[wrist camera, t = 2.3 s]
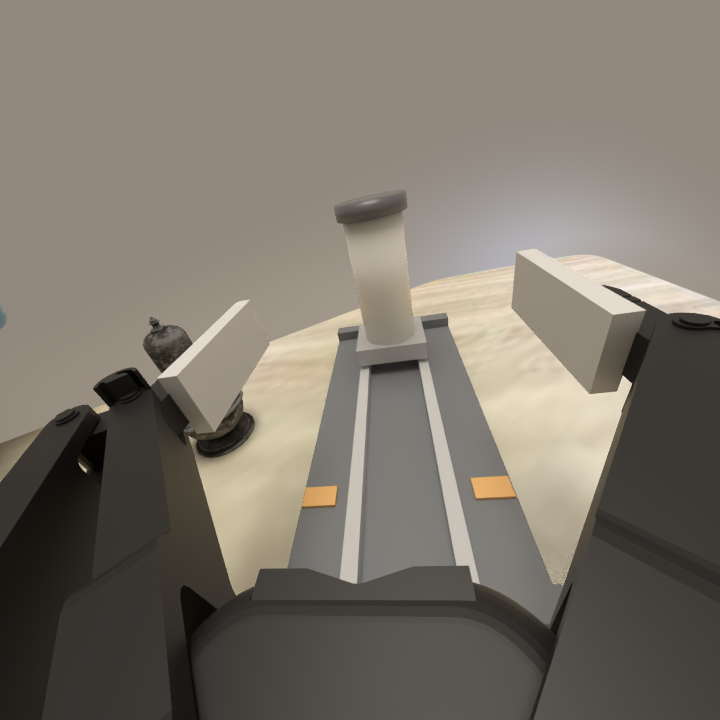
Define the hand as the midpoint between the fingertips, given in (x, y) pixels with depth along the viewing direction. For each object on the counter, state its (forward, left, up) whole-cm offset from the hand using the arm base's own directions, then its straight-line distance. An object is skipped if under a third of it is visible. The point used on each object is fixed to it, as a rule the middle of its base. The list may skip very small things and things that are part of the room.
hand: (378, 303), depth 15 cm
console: (0, +3, -12) cm, 12 cm away
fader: (0, +10, -9) cm, 13 cm away
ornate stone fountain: (-16, +4, -12) cm, 21 cm away
